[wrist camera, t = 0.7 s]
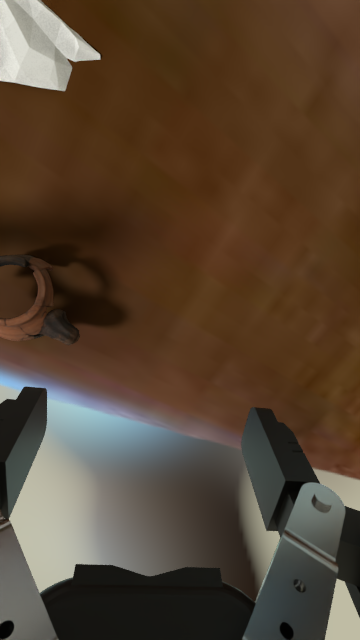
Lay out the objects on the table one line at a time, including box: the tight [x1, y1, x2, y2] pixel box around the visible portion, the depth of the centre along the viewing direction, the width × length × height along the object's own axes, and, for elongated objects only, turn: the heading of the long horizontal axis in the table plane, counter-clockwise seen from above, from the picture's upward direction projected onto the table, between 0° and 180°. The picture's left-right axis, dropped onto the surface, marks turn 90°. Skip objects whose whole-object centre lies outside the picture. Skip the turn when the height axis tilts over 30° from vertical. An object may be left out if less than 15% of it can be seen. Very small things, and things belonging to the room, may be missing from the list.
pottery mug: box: [0, 255, 80, 345], centre depth 37 cm, size 12×9×8 cm
